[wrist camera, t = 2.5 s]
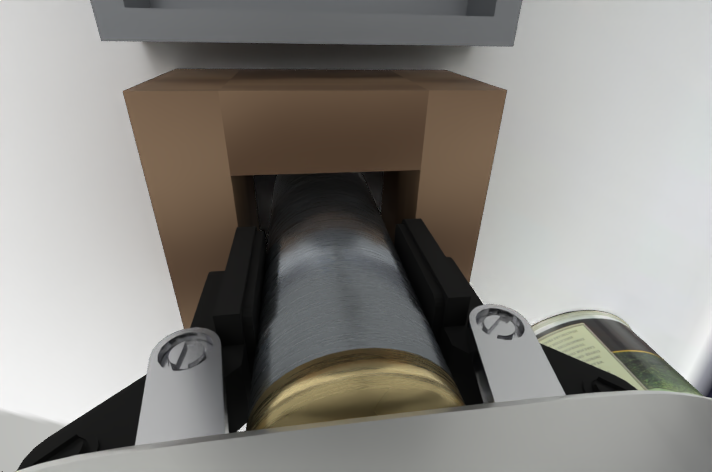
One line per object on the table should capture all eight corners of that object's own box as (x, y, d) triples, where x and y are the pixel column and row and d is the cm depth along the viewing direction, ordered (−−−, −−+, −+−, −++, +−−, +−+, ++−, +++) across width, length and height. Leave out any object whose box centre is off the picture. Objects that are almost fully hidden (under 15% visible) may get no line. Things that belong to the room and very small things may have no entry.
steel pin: (269, 149, 16) (223, 404, 5) (367, 147, 16) (499, 376, 6) (277, 236, 18) (254, 547, 7) (364, 231, 18) (460, 515, 8)
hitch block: (176, 68, 14) (122, 91, 9) (445, 70, 15) (506, 90, 11) (219, 293, 19) (196, 377, 14) (420, 280, 20) (455, 352, 16)
